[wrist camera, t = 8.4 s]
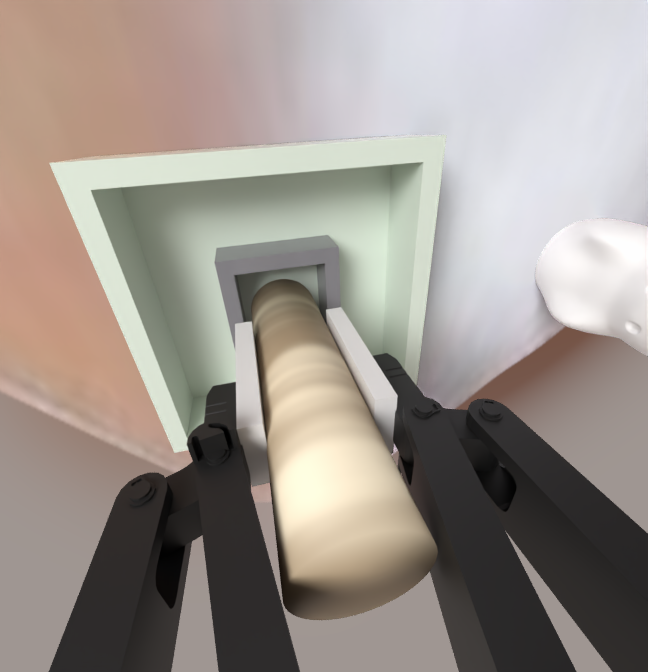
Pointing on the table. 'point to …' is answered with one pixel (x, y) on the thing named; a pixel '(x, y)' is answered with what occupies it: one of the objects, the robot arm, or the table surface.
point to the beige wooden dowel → (329, 470)
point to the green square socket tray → (255, 248)
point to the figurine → (598, 279)
